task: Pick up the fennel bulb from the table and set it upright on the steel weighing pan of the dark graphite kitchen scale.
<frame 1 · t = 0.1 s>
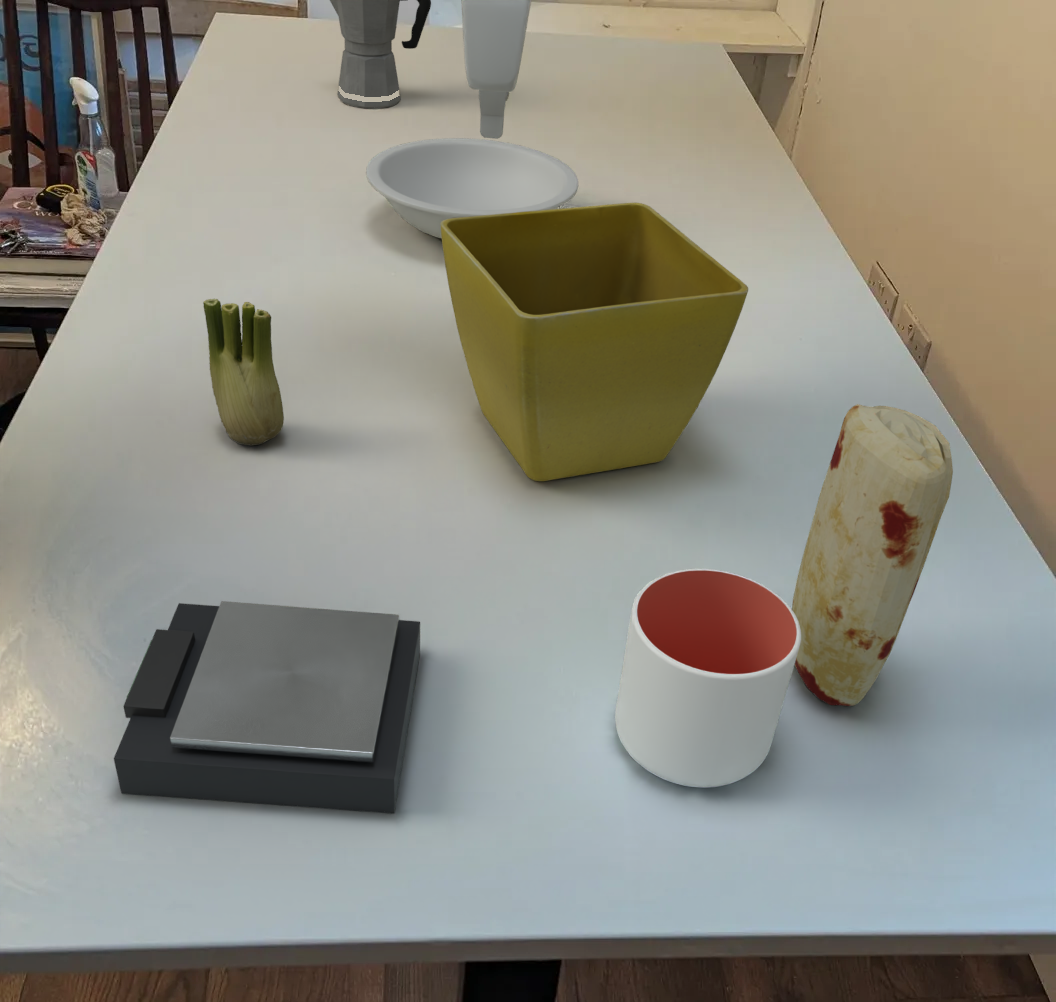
hand: (494, 116, 97), 23 cm above the table, tool pointing down, fingers open, 8 cm apart
soup bowl: (470, 231, 138), on the table
food model: (826, 678, 81), on the table
flower pot: (570, 437, 104), on the table
cup: (689, 740, 76), on the table
fennel bulb: (252, 437, 100), on the table
scale pan: (292, 676, 72), point 4 cm above the table, slide at 0.1 cm
scale: (281, 719, 75), on the table
coffeepot: (376, 101, 173), on the table
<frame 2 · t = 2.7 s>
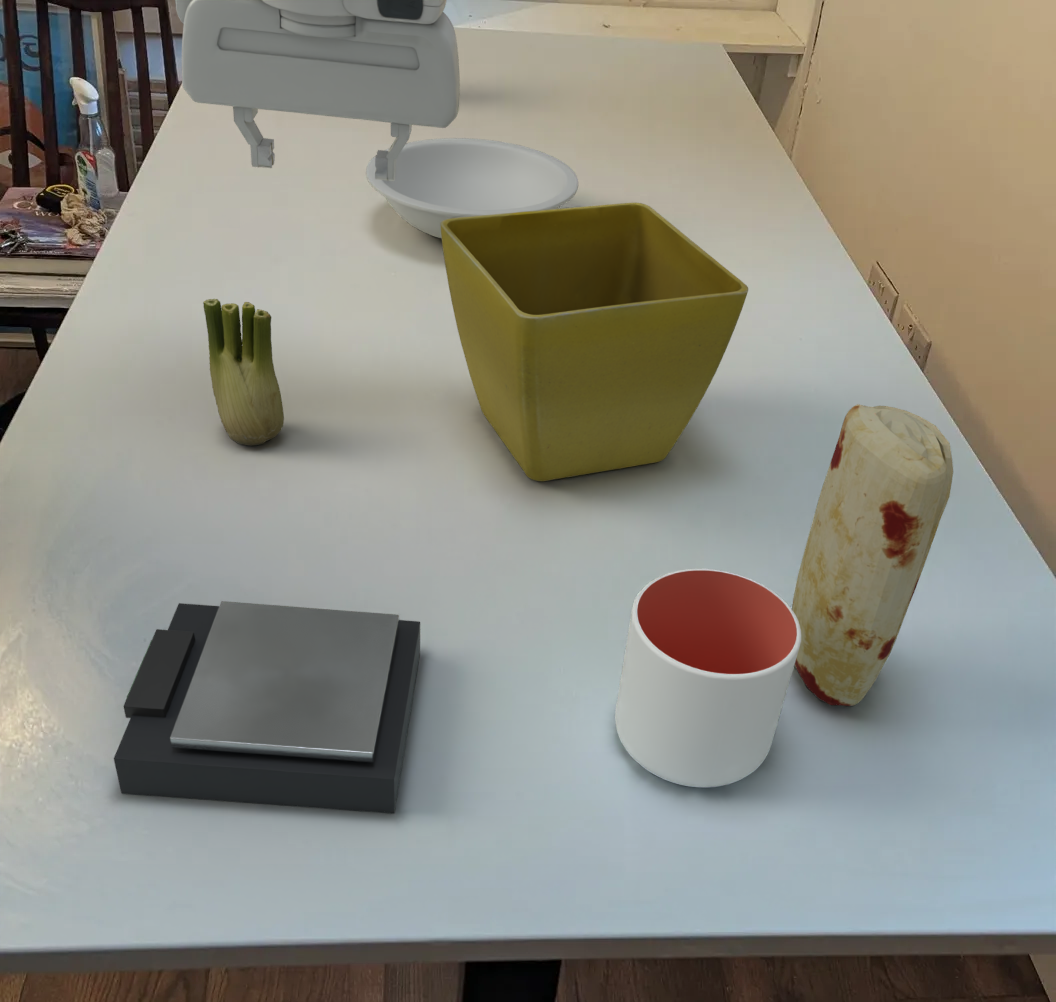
hand: (324, 171, 91), 21 cm above the table, tool pointing down, fingers open, 8 cm apart
nothing on the table moved.
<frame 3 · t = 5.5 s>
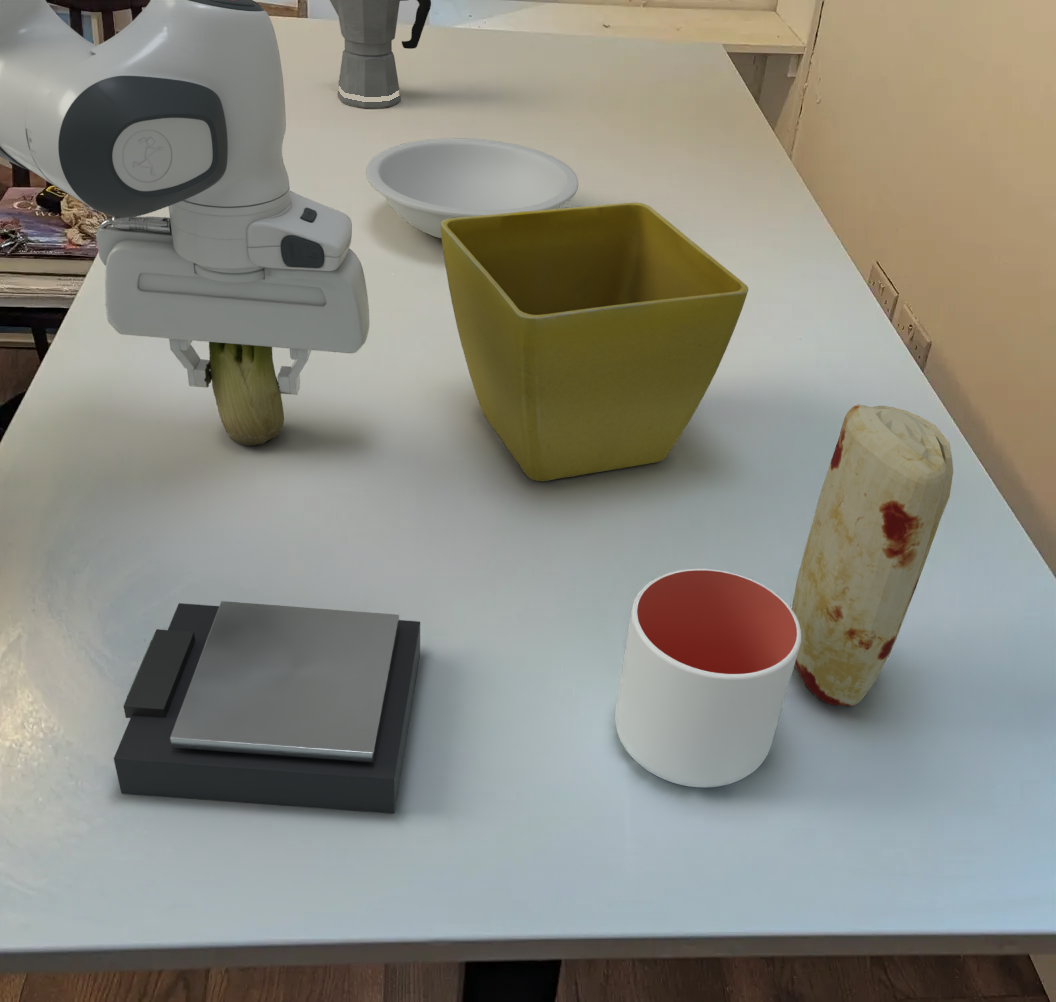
hand: (245, 387, 97), 5 cm above the table, tool pointing down, fingers closed on fennel bulb, 6 cm apart
fennel bulb: (252, 437, 100), on the table, touching gripper
everything else where it was.
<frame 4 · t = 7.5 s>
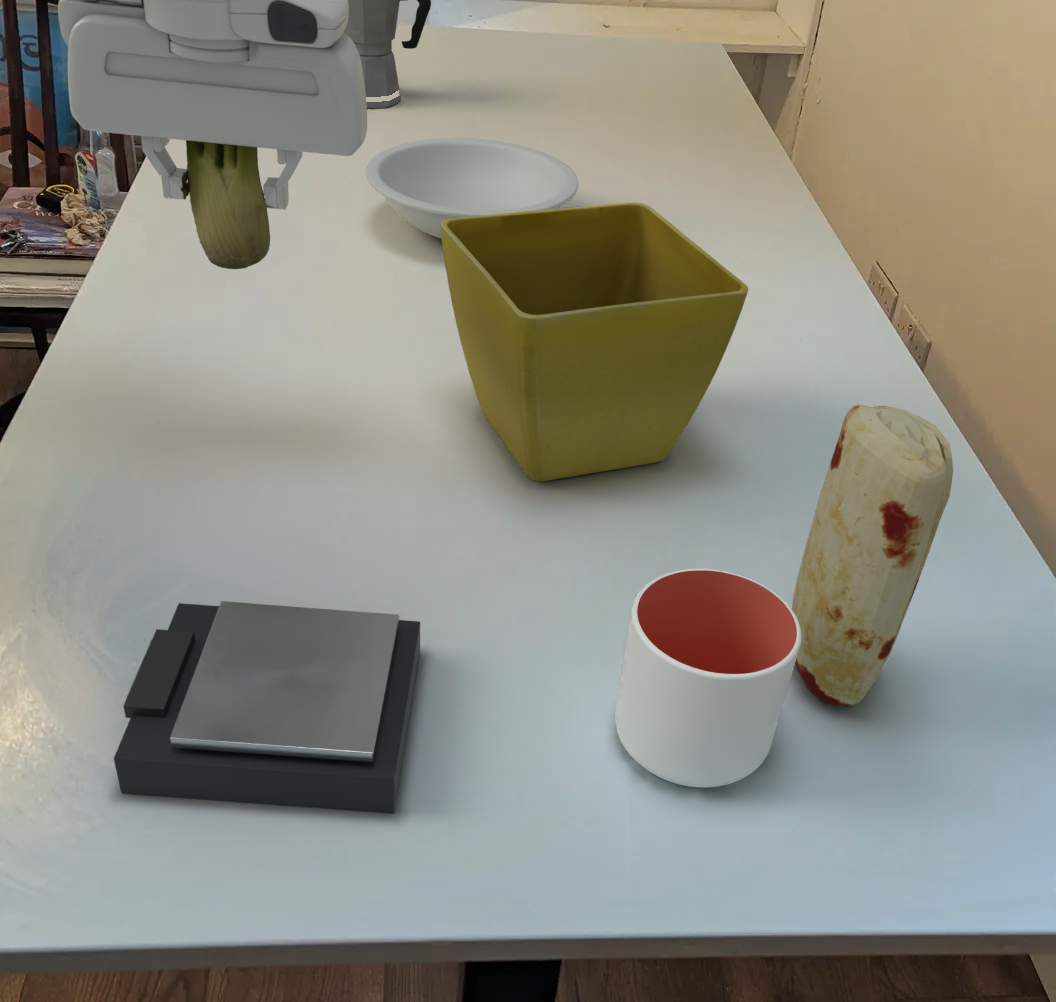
hand: (227, 201, 87), 20 cm above the table, tool pointing down, fingers closed on fennel bulb, 6 cm apart
fennel bulb: (235, 263, 90), point 16 cm above the table, touching gripper
everything else where it was.
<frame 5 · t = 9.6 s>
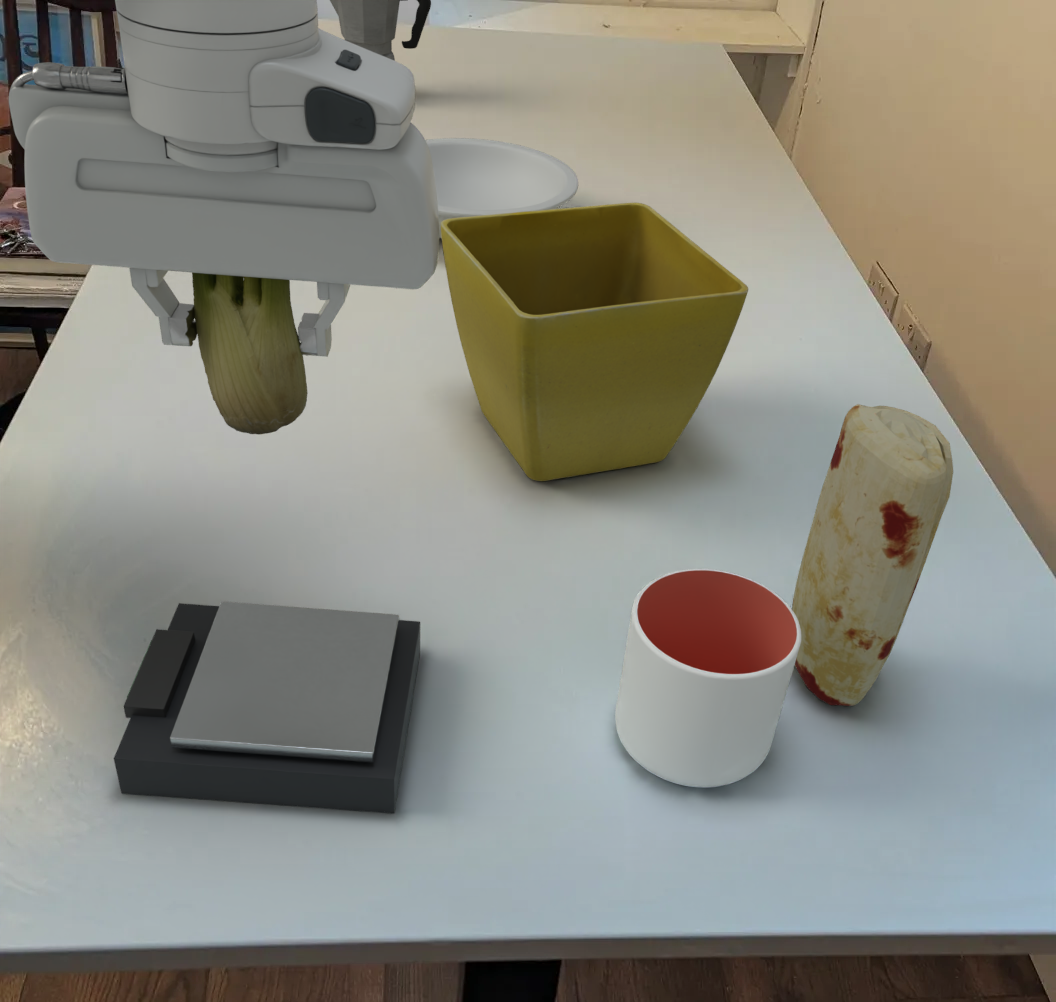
hand: (249, 346, 64), 23 cm above the table, tool pointing down, fingers closed on fennel bulb, 6 cm apart
fennel bulb: (260, 422, 67), point 19 cm above the table, touching gripper
everything else where it was.
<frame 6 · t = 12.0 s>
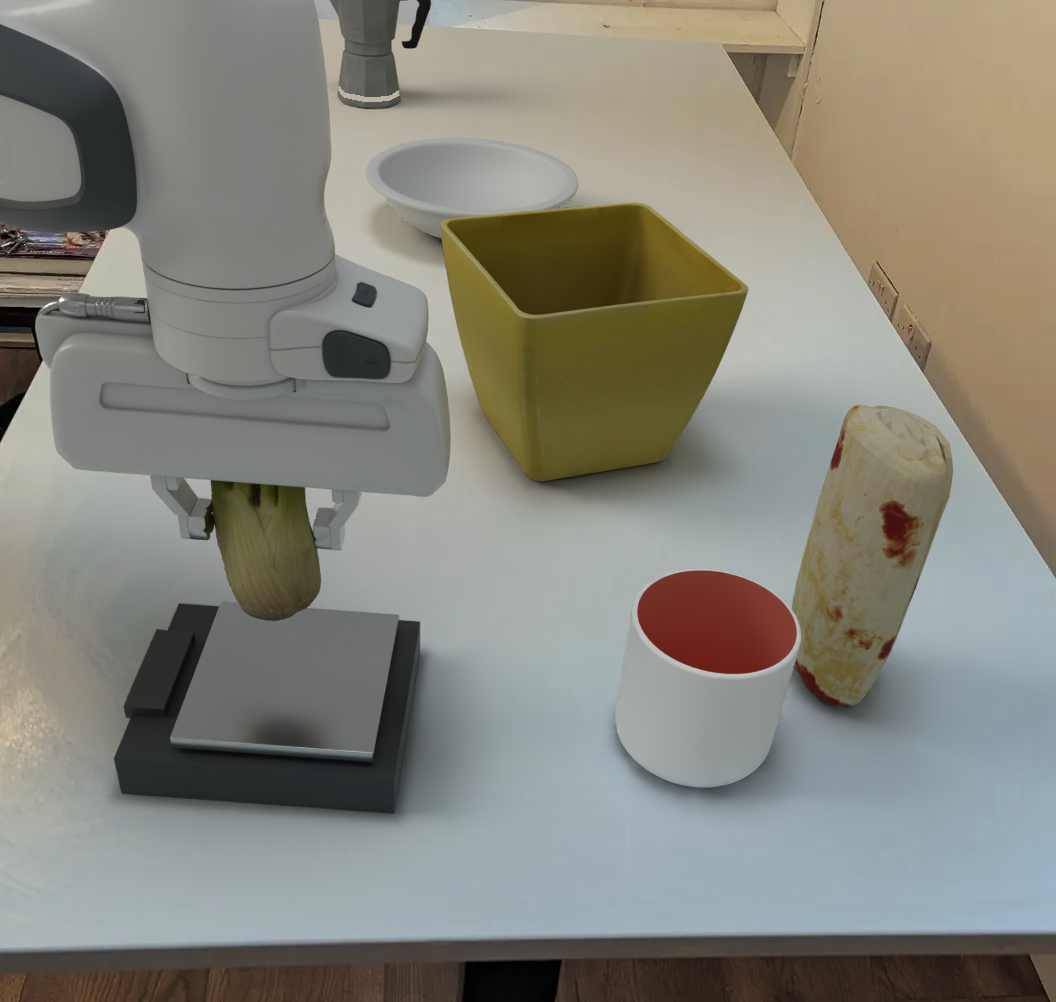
hand: (265, 538, 66), 14 cm above the table, tool pointing down, fingers closed on fennel bulb, 6 cm apart
fennel bulb: (274, 604, 69), point 9 cm above the table, touching gripper
everything else where it was.
when the fingers open (9 cm above the table, at t = 13.9 s): fennel bulb stays where it is, resting on scale pan.
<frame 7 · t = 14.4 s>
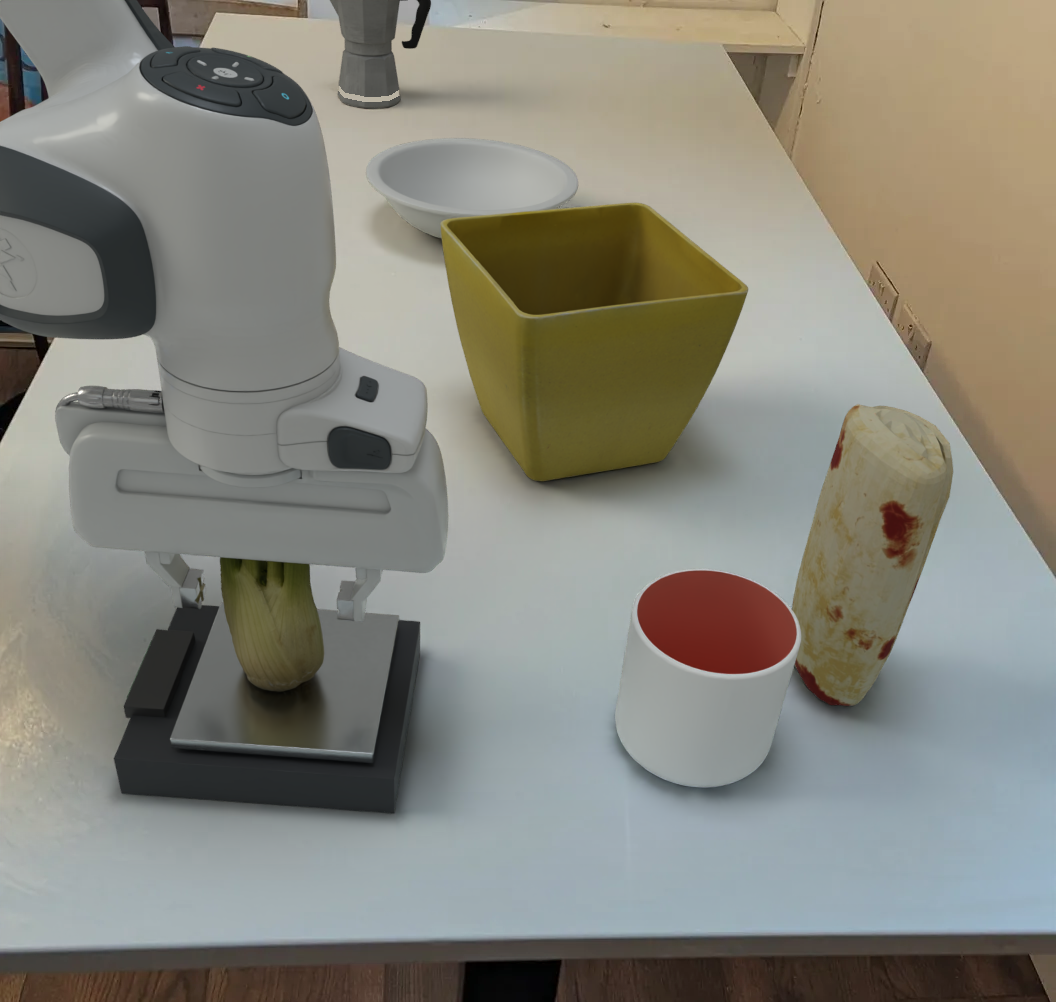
hand: (271, 608, 69), 9 cm above the table, tool pointing down, fingers open, 8 cm apart
fennel bulb: (279, 673, 72), point 4 cm above the table, touching scale pan
scale pan: (292, 677, 72), point 4 cm above the table, slide at 0.0 cm, touching fennel bulb
everything else where it was.
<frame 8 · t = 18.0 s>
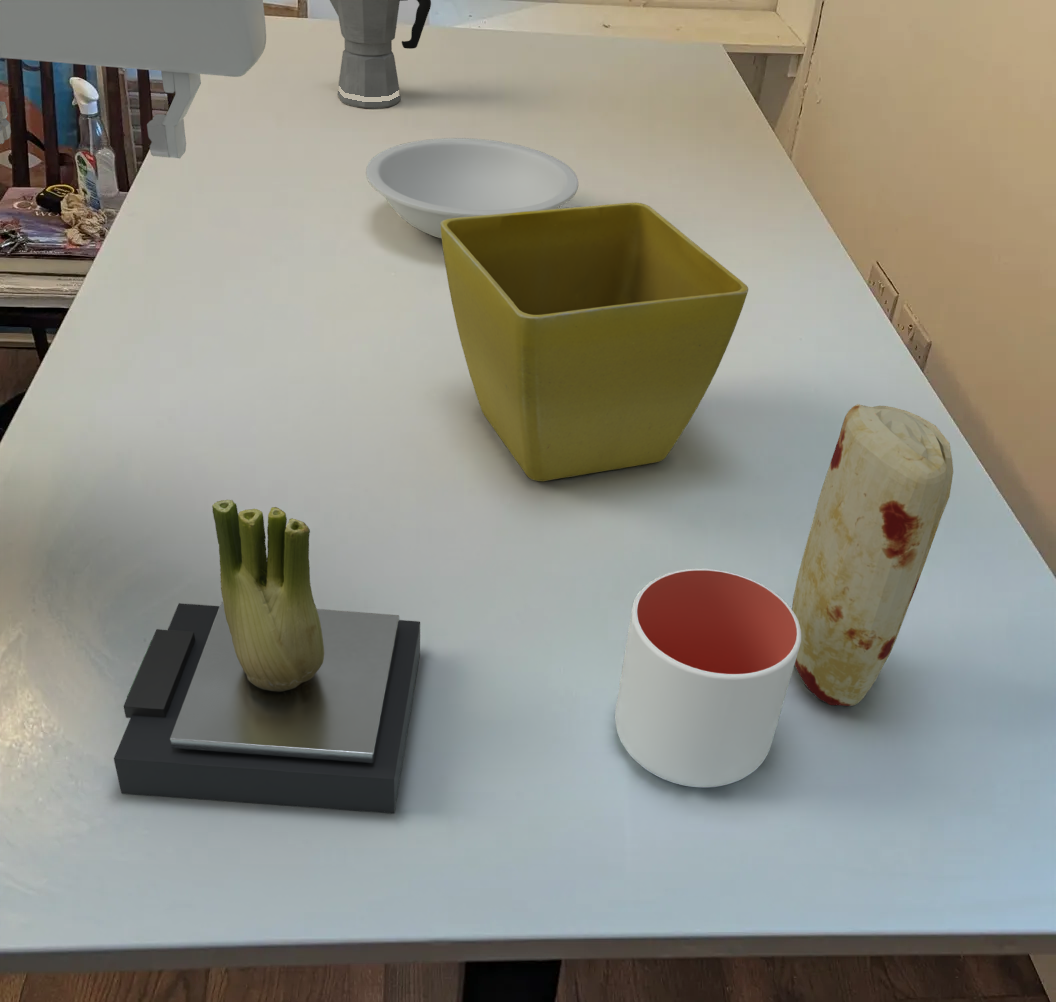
hand: (81, 147, 63), 31 cm above the table, tool pointing down, fingers open, 8 cm apart
nothing on the table moved.
at the end: fennel bulb inside the target area on the scale (0.7 cm from its centre), point 3.9 cm above the scale's base; fennel bulb tilted 0°; the gripper is holding nothing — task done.
